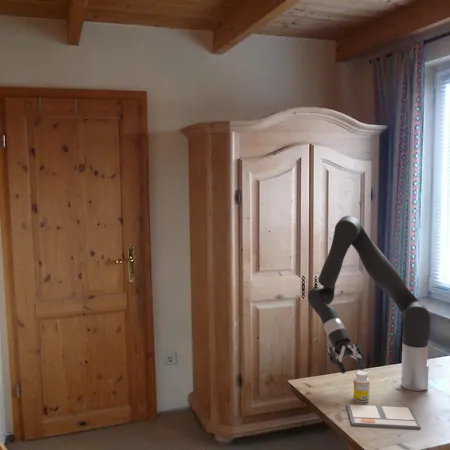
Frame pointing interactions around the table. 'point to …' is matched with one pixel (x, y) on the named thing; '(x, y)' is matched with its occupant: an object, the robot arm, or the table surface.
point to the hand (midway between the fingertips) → (353, 370)
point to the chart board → (382, 416)
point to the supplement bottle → (361, 387)
